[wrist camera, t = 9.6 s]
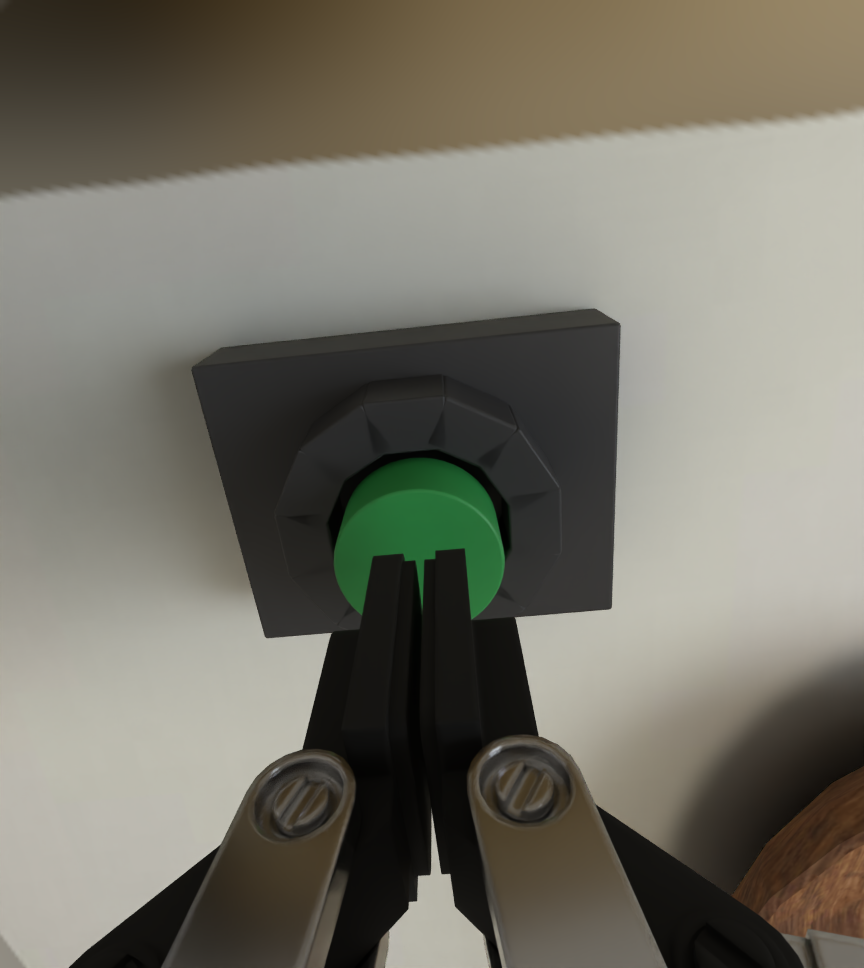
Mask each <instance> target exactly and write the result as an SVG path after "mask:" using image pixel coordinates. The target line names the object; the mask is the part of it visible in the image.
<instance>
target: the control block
mask: <svg viewBox="0 0 864 968" xmlns="http://www.w3.org/2000/svg"><path fill="white" fill-rule="evenodd" d="M620 328H621V326H620V323H618V322H617V321H615V320H613V319H612V318H610V317H608V316H607V315H605V314H603V313H602V312H600V311H598V310H597V309H588V310H578V311H568V312H559V313H549V314H540V315H530V316H521V317H511V318H502V319H492V320H482V321H473V322H463V323H454V324H444V325H435V326H425V327H416V328H406V329H396V330H387V331H377V332H368V333H358V334H349V335H339V336H329V337H320V338H310V339H301V340H291V341H282V342H272V343H263V344H253V345H243V346H234V347H224V348H220V349H219V350H217V351H216V352H214V353H213V354H211V355H210V356H208V357H207V358H205V359H204V360H202V361H201V362H199V363H198V364H196V365H195V366H193V367H192V369H191V371H192V374H193V378H194V382H195V385H196V389H197V392H198V396H199V400H200V403H201V407H202V411H203V414H204V418H205V421H206V425H207V429H208V432H209V436H210V439H211V443H212V447H213V450H214V454H215V458H216V461H217V465H218V468H219V472H220V476H221V479H222V483H223V487H224V490H225V494H226V497H227V501H228V505H229V508H230V512H231V515H232V519H233V523H234V526H235V530H236V534H237V537H238V541H239V544H240V548H241V552H242V555H243V559H244V562H245V566H246V570H247V573H248V577H249V581H250V584H251V588H252V591H253V595H254V599H255V602H256V606H257V610H258V613H259V617H260V620H261V624H262V628H263V631H264V635H265V637H266V638H275V637H287V636H299V635H311V634H323V633H333V632H334V631H342V630H355V629H360V624H361V618H362V615H361V614H360V613H359V612H357V611H356V610H355V609H354V608H353V607H352V606H351V604H350V603H349V602H348V601H347V599H346V598H345V596H344V595H343V593H342V591H341V589H340V587H339V585H338V582H337V579H336V575H335V570H334V551H335V545H336V542H337V538H338V534H339V531H340V527H341V524H342V520H343V517H344V513H345V510H346V507H347V504H348V501H349V499H350V497H351V495H352V493H353V492H354V490H355V489H356V487H357V486H358V485H359V484H360V483H361V482H362V481H363V480H364V478H366V477H367V476H368V475H369V474H371V473H372V472H373V471H375V470H377V469H378V468H380V467H382V466H384V465H386V464H389V463H391V462H394V461H398V460H402V459H408V458H433V459H437V460H442V461H445V462H448V463H451V464H454V465H456V466H458V467H460V468H462V469H463V470H465V471H466V472H468V473H469V474H471V475H472V476H473V477H474V478H475V479H477V480H478V481H479V483H480V484H481V485H482V486H483V487H484V488H485V490H486V491H487V493H488V495H489V496H490V498H491V501H492V503H493V505H494V509H495V512H496V517H497V521H498V526H499V530H500V535H501V540H502V544H503V549H504V556H505V568H504V573H503V578H502V581H501V584H500V587H499V589H498V591H497V593H496V595H495V596H494V598H493V599H492V600H491V602H490V603H489V604H488V606H487V607H486V608H485V609H484V610H483V611H482V612H481V613H479V614H478V615H477V616H476V617H475V618H473V619H471V620H481V619H493V618H506V617H524V616H536V615H548V614H560V613H572V612H584V611H595V610H607V609H611V607H612V583H613V551H614V520H615V488H616V456H617V424H618V392H619V360H620Z"/></svg>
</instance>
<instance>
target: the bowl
mask: <svg viewBox="0 0 864 968" xmlns="http://www.w3.org/2000/svg"><path fill="white" fill-rule="evenodd" d="M732 897H733V898H735V899H736V900H738V901H739V902H741V903H742V904H744V905H745V906H747V907H748V908H750V909H751V910H753V911H754V912H755V913H757V914H758V915H760V916H761V917H762V918H763V919H764V920H766V921H767V922H768V923H769V924H770V925H772V926H773V927H774V928H775V929H776V930H778V931H779V932H780V933H783V934H789V935H794V936H799V937H804V938H805V937H806V933H807V929H812V930H818V931H823V932H828V933H834V934H839V935H844V936H850V937H855V938H860V939H864V766H863V767H861V768H859V769H857V770H855V771H854V772H852V773H850V774H848V775H846V776H844V777H842V778H840V779H838V780H836V781H835V782H833V783H831V784H830V785H829V786H828V787H827V788H826V789H825V790H824V791H823V792H822V793H821V794H819V795H818V796H817V797H816V798H815V799H814V800H813V801H812V802H811V803H810V804H809V805H808V806H806V807H805V808H804V809H803V810H802V811H801V812H800V813H799V814H798V815H797V816H796V817H795V818H793V819H792V820H791V821H790V822H789V823H788V824H787V825H786V826H785V827H784V828H783V829H782V830H780V831H779V832H778V833H777V834H776V835H775V836H774V837H773V838H772V839H771V840H770V841H769V842H767V844H766V845H765V847H764V848H763V850H762V851H761V853H760V854H759V856H758V857H757V859H756V860H755V862H754V863H753V865H752V866H751V868H750V869H749V871H748V872H747V874H746V875H745V877H744V878H743V880H742V881H741V883H740V884H739V886H738V887H737V889H736V890H735V892H734V893H733V895H732Z"/></svg>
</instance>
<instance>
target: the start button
mask: <svg viewBox="0 0 864 968" xmlns="http://www.w3.org/2000/svg"><path fill="white" fill-rule="evenodd" d="M461 548H465V555H466V566H467V577H468V588H469V599H470V610H471V619H473V618H475V617H476V616H477V615H478V614H479V613H481V612H482V611H483V610H484V609H485V608H486V607H487V606H488V604H489V603H490V602H491V600H492V599H493V598H494V596H495V595H496V593H497V591H498V589H499V587H500V584H501V581H502V578H503V573H504V568H505V556H504V549H503V544H502V540H501V535H500V530H499V526H498V521H497V517H496V512H495V509H494V505H493V503H492V501H491V498H490V496H489V495H488V493H487V491H486V490H485V488H484V487H483V486H482V485H481V484H480V483H479V481H478V480H477V479H475V478H474V477H473V476H472V475H471V474H469V473H468V472H466V471H465V470H463V469H462V468H460V467H458V466H456V465H454V464H451V463H448V462H445V461H442V460H437V459H433V458H408V459H402V460H398V461H394V462H391V463H389V464H386V465H384V466H382V467H380V468H378V469H377V470H375V471H373V472H372V473H371V474H369V475H368V476H367V477H366V478H364V480H363V481H362V482H361V483H360V484H359V485H358V486H357V487H356V489H355V490H354V492H353V493H352V495H351V497H350V499H349V501H348V504H347V507H346V510H345V513H344V517H343V520H342V524H341V527H340V531H339V534H338V538H337V542H336V545H335V551H334V570H335V575H336V579H337V582H338V585H339V587H340V589H341V591H342V593H343V595H344V596H345V598H346V599H347V601H348V602H349V603H350V604H351V606H352V607H353V608H354V609H355V610H356V611H357V612H359V613H360V614H361V615H362V613H363V607H364V602H365V596H366V591H367V585H368V580H369V574H370V569H371V563H372V558H373V556H378V555H390V554H402V553H403V554H404V558H405V561H412V560H415V561H416V565H417V573H418V580H419V588H420V595H421V603H422V610H423V582H424V560H425V559H435V551H437V550H449V549H461Z"/></svg>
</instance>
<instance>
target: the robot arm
mask: <svg viewBox="0 0 864 968" xmlns="http://www.w3.org/2000/svg"><path fill="white" fill-rule="evenodd" d="M431 808H432V814H433V821H434V828H435V834H436V841H437V848H438V854H439V861H440V868H441V873H442V874H451V882H452V889H453V896H454V903H455V907H456V908H457V909H458V910H459V911H460V912H461V913H462V914H463V915H464V916H465V917H466V918H467V919H468V920H469V921H470V922H471V923H472V924H473V925H474V926H475V927H476V928H477V929H478V930H480V931H481V932H482V933H483V937H484V945H485V950H486V955H487V960H488V965H489V968H864V939H860V938H855V937H850V936H844V935H839V934H834V933H828V932H823V931H818V930H812V929H807V933H806V937H805V938H804V937H799V936H794V935H789V934H783V933H780V932H779V931H778V930H776V929H775V928H774V927H773V926H772V925H770V924H769V923H768V922H767V921H766V920H764V919H763V918H762V917H761V916H760V915H758V914H757V913H755V912H754V911H753V910H751V909H750V908H748V907H747V906H745V905H744V904H742V903H741V902H739V901H738V900H736V899H735V898H733V897H732V896H730V895H729V894H727V893H726V892H724V891H723V890H721V889H720V888H718V887H717V886H715V885H714V884H713V883H711V882H710V881H708V880H707V879H705V878H704V877H702V876H701V875H699V874H698V873H696V872H695V871H693V870H692V869H690V868H689V867H687V866H686V865H684V864H683V863H681V862H680V861H678V860H677V859H676V858H674V857H673V856H671V855H670V854H668V853H667V852H665V851H664V850H662V849H661V848H659V847H658V846H656V845H655V844H653V843H652V842H650V841H649V840H647V839H646V838H644V837H643V836H641V835H640V834H638V833H637V832H636V831H634V830H633V829H631V828H630V827H628V826H627V825H625V824H624V823H622V822H621V821H619V820H618V819H616V818H615V817H613V816H612V815H610V814H609V813H607V812H606V811H604V810H603V809H601V808H600V807H598V806H597V805H596V804H595V803H594V800H593V798H592V796H591V794H590V791H589V789H588V787H587V785H586V782H585V780H584V778H583V775H582V773H581V771H580V769H579V767H578V766H577V764H576V763H575V761H574V760H573V758H572V757H571V755H570V754H568V753H567V752H566V751H565V750H564V749H562V748H561V747H560V746H559V745H558V744H555V743H553V742H551V741H549V740H547V739H545V738H543V737H539V736H538V731H537V725H536V720H535V715H534V710H533V705H532V700H531V695H530V690H529V685H528V680H527V675H526V670H525V664H524V659H523V654H522V649H521V644H520V639H519V634H518V629H517V624H516V620H515V617H506V618H493V619H481V620H471V610H470V599H469V588H468V577H467V566H466V555H465V548H461V549H449V550H437V551H435V559H425V560H424V582H423V610H422V603H421V595H420V588H419V580H418V573H417V565H416V561H415V560H412V561H405V558H404V554H403V553H402V554H390V555H378V556H373V558H372V563H371V569H370V574H369V580H368V585H367V591H366V596H365V602H364V607H363V613H362V618H361V624H360V629H355V630H342V631H334V632H333V633H332V634H331V637H330V640H329V644H328V648H327V652H326V656H325V660H324V664H323V668H322V673H321V677H320V681H319V685H318V689H317V693H316V697H315V701H314V705H313V709H312V713H311V717H310V721H309V725H308V729H307V733H306V737H305V741H304V745H303V749H302V750H300V751H297V752H294V753H291V754H288V755H285V756H283V757H281V758H280V759H278V760H276V761H275V762H273V763H271V764H270V765H269V766H267V767H266V768H265V769H264V770H263V771H262V772H261V773H260V774H259V775H258V776H257V777H256V778H255V780H254V781H253V783H252V784H251V786H250V787H249V789H248V790H247V792H246V794H245V796H244V798H243V800H242V802H241V804H240V806H239V808H238V810H237V813H236V815H235V817H234V819H233V821H232V823H231V825H230V827H229V829H228V831H227V833H226V835H225V837H224V839H223V841H222V843H221V845H220V846H218V847H217V848H216V849H215V850H213V851H212V852H211V853H210V854H208V855H207V856H206V857H205V858H203V859H202V860H201V861H199V862H198V863H197V864H196V865H194V866H193V867H192V868H191V869H189V870H188V871H187V872H186V873H184V874H183V875H182V876H180V877H179V878H178V879H177V880H175V881H174V882H173V883H172V884H170V885H169V886H168V887H167V888H165V889H164V890H163V891H162V892H160V893H159V894H158V895H156V896H155V897H154V898H153V899H151V900H150V901H149V902H148V903H146V904H145V905H144V906H143V907H141V908H140V909H139V910H137V911H136V912H135V913H134V914H132V915H131V916H130V917H129V918H127V919H126V920H125V921H124V922H122V923H121V924H120V925H118V926H117V927H116V928H115V929H113V930H112V931H111V932H110V933H108V934H107V935H106V936H105V937H103V938H102V939H101V940H100V941H98V942H97V943H96V944H94V945H93V946H92V947H91V948H89V949H88V950H87V951H86V952H85V953H84V954H82V955H81V956H80V957H79V958H78V959H77V960H76V961H75V962H74V963H73V964H72V965H71V966H70V967H69V968H385V964H386V959H387V954H388V947H389V930H390V928H391V927H392V926H393V925H394V924H395V923H396V922H397V921H398V920H399V919H400V918H401V916H402V915H403V914H404V913H405V912H406V911H407V910H408V906H409V902H413V901H417V886H418V876H422V875H430V874H431Z"/></svg>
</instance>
